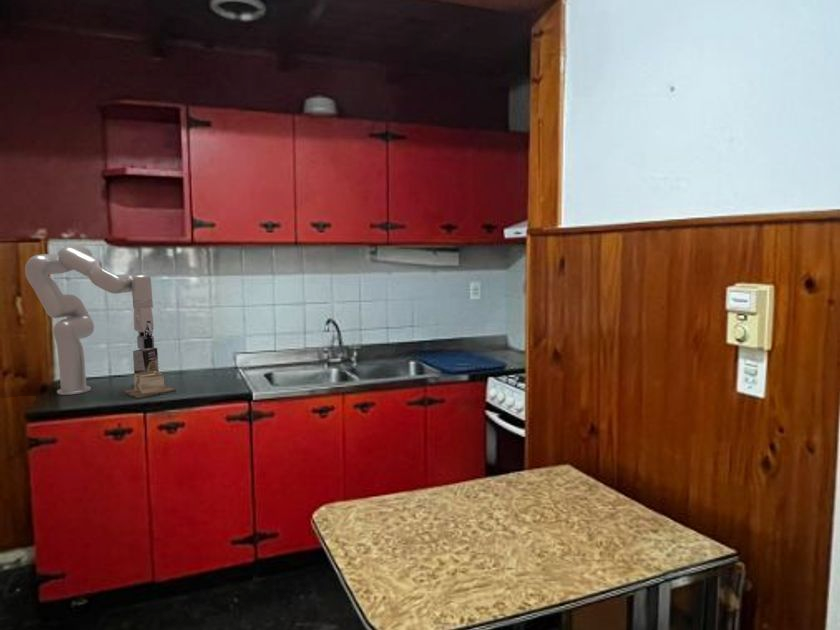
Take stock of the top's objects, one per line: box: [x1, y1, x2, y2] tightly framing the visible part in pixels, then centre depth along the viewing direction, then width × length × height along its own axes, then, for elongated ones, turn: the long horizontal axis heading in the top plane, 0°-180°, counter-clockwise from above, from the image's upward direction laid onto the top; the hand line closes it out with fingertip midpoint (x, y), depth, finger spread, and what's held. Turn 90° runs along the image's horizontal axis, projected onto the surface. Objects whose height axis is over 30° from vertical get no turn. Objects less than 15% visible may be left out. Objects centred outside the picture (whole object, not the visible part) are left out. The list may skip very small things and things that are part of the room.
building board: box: [122, 371, 177, 399], centre depth 256 cm, size 16×16×8 cm
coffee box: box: [132, 347, 160, 375], centre depth 270 cm, size 9×6×16 cm
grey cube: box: [136, 335, 155, 350], centre depth 254 cm, size 5×5×5 cm
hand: (146, 346), depth 254 cm, fingers closed on grey cube, 5 cm apart
